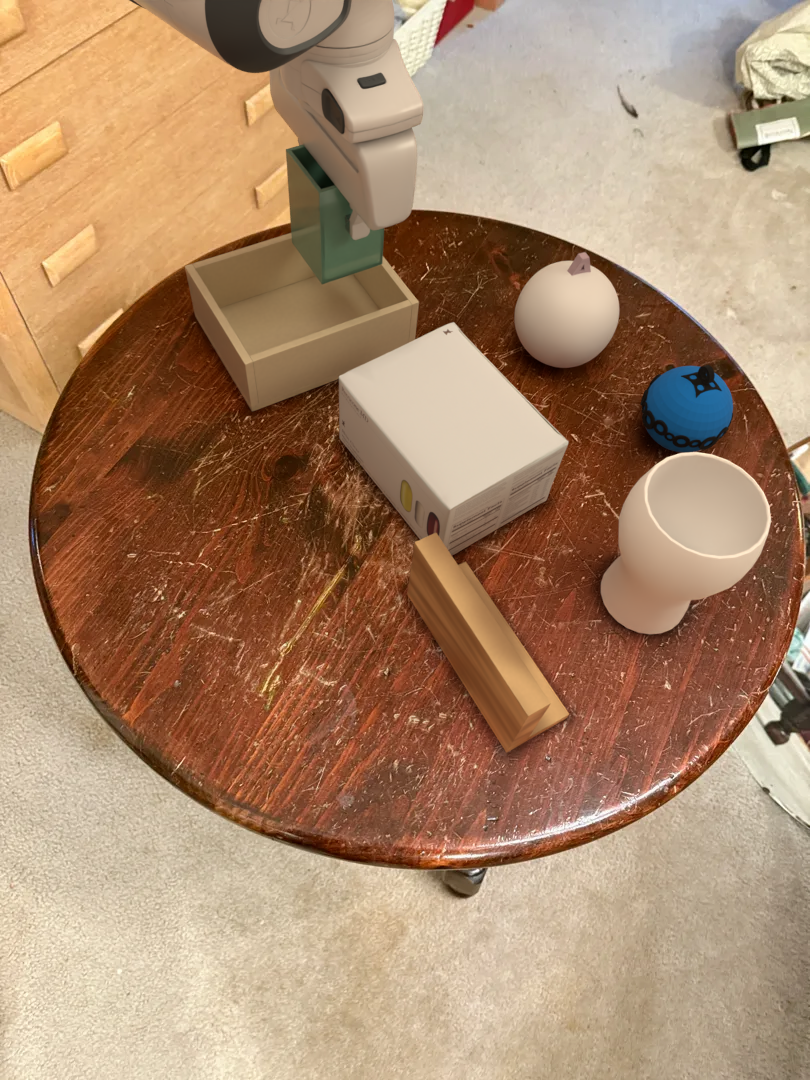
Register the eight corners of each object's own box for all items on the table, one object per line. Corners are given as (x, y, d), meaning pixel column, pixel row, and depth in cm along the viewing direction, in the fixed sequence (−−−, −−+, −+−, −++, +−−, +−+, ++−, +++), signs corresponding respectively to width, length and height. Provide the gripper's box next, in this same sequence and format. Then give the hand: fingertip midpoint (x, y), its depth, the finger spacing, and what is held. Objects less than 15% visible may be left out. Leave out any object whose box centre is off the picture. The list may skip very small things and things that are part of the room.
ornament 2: (729, 458, 82) (775, 391, 73) (655, 480, 80) (693, 414, 71) (686, 395, 86) (724, 325, 77) (614, 414, 84) (645, 344, 75)
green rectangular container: (352, 300, 81) (270, 257, 72) (322, 259, 84) (239, 213, 75) (430, 206, 77) (354, 147, 67) (396, 166, 80) (318, 104, 70)
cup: (631, 524, 77) (690, 423, 64) (724, 598, 73) (806, 507, 61) (560, 592, 73) (607, 498, 60) (655, 674, 69) (727, 593, 56)
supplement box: (335, 440, 80) (334, 374, 72) (443, 385, 84) (453, 318, 76) (437, 566, 73) (449, 510, 65) (548, 500, 78) (572, 440, 70)
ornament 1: (548, 302, 91) (574, 211, 81) (621, 353, 88) (657, 264, 78) (488, 348, 87) (507, 257, 77) (562, 402, 84) (593, 315, 74)
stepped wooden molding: (506, 753, 65) (528, 716, 57) (406, 594, 72) (414, 542, 64) (567, 718, 67) (596, 677, 59) (464, 566, 73) (478, 512, 66)
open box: (252, 412, 81) (244, 364, 75) (195, 316, 87) (184, 265, 81) (414, 350, 86) (419, 302, 81) (349, 265, 92) (350, 214, 87)
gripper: (244, -1, 67) (259, 153, 79) (361, 137, 59) (358, 287, 70) (313, -16, 69) (317, 137, 81) (436, 116, 60) (421, 265, 72)
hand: (337, 208), depth 76 cm, fingers closed on green rectangular container, 6 cm apart
